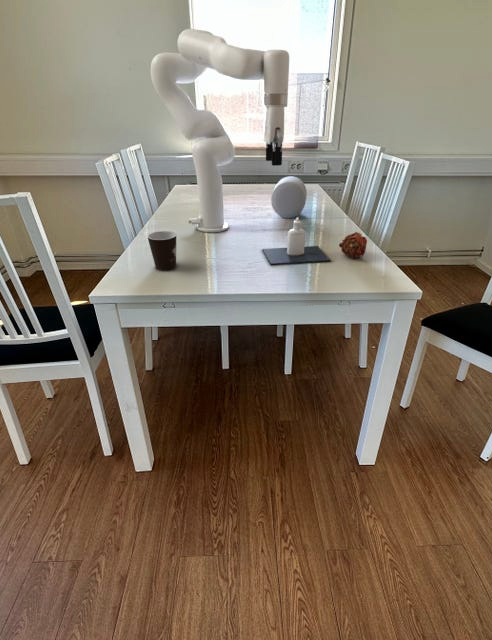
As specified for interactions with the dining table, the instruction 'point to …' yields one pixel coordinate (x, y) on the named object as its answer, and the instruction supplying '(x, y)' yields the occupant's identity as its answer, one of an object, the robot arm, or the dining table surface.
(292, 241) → the eye dropper bottle
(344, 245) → the dragon fruit
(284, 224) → the dining table surface
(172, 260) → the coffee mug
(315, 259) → the mat
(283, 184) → the grey egg shape
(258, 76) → the robot arm
